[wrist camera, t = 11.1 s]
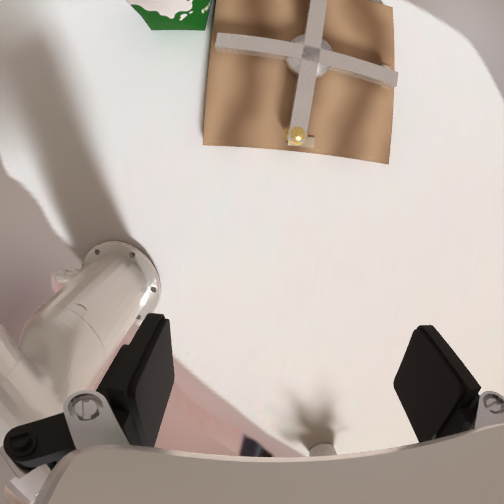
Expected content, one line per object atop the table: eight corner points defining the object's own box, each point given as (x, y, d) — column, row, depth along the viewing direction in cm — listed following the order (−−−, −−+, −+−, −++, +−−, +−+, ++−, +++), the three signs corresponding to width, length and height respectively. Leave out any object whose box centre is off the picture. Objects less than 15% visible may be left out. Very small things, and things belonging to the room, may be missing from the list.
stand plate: (205, 145, 35) (202, 145, 33) (220, -11, 28) (218, -19, 25) (382, 163, 35) (389, 164, 33) (386, 12, 28) (393, 6, 26)
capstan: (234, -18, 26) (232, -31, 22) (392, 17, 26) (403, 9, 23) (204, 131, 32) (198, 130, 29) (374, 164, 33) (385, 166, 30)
